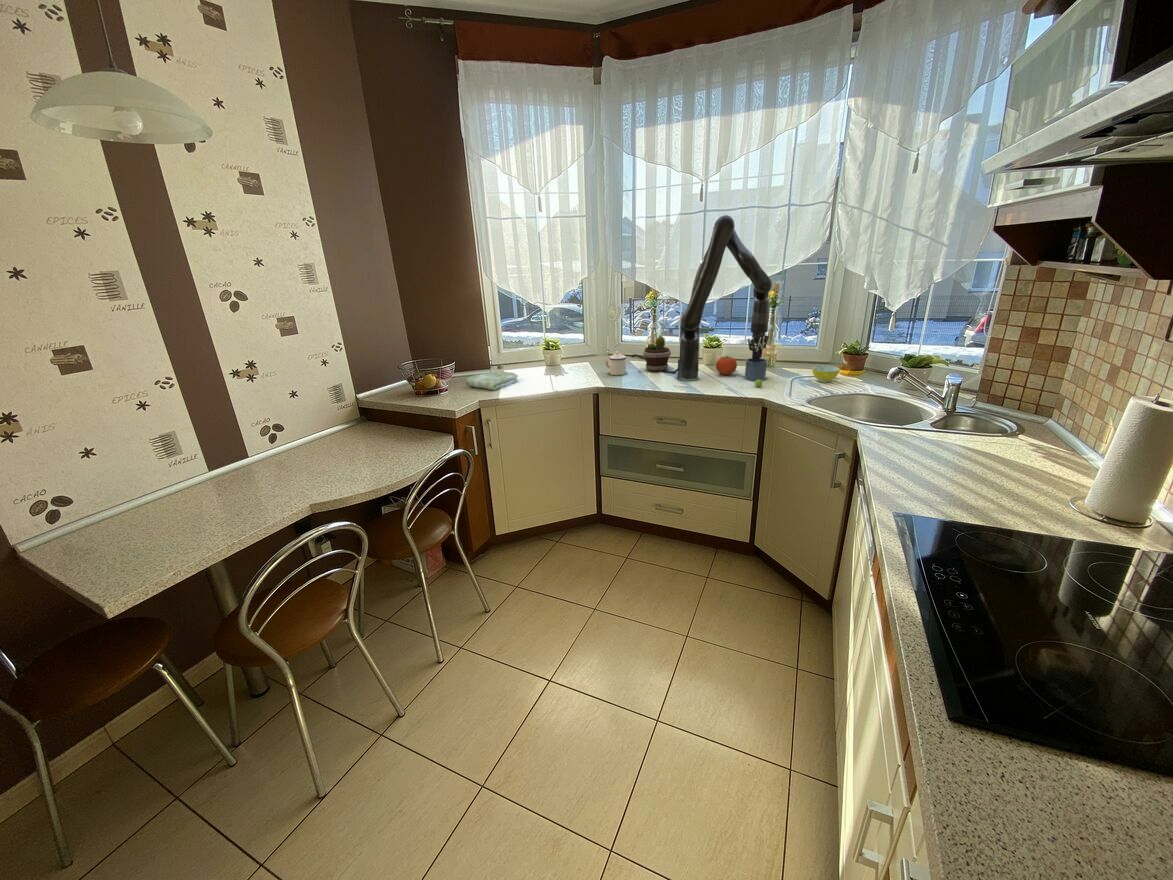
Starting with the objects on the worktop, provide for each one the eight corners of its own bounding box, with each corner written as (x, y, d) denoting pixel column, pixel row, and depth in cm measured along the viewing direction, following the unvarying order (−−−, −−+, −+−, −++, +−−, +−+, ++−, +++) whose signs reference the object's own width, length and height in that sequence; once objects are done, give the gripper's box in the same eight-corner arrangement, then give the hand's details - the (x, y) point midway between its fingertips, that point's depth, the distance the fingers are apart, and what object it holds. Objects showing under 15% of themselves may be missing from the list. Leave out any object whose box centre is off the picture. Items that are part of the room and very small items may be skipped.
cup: (740, 378, 233) (742, 360, 230) (752, 375, 238) (753, 357, 235) (757, 381, 226) (759, 363, 223) (769, 378, 231) (771, 359, 228)
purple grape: (751, 359, 229) (752, 352, 228) (755, 358, 231) (756, 351, 230) (757, 360, 227) (758, 353, 225) (762, 359, 228) (762, 351, 227)
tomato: (739, 373, 242) (741, 354, 239) (730, 377, 235) (732, 357, 231) (720, 371, 249) (721, 352, 245) (711, 375, 241) (712, 355, 238)
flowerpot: (638, 368, 262) (638, 332, 255) (663, 365, 266) (664, 329, 259) (649, 374, 249) (649, 336, 242) (675, 371, 253) (676, 333, 246)
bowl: (811, 383, 218) (813, 370, 216) (810, 377, 228) (811, 365, 226) (839, 385, 215) (841, 371, 212) (836, 378, 225) (838, 365, 222)
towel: (519, 381, 249) (519, 371, 247) (493, 391, 232) (491, 381, 230) (493, 378, 258) (492, 368, 256) (465, 388, 241) (464, 378, 239)
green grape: (752, 386, 218) (753, 379, 217) (757, 385, 220) (757, 378, 219) (759, 388, 216) (760, 380, 215) (763, 386, 218) (764, 379, 217)
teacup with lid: (629, 372, 255) (629, 350, 251) (620, 376, 248) (620, 354, 244) (610, 370, 262) (609, 349, 257) (601, 374, 255) (600, 352, 251)
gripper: (761, 319, 229) (758, 355, 235) (743, 323, 221) (741, 359, 228) (775, 320, 223) (772, 357, 230) (757, 324, 216) (754, 362, 222)
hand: (756, 358), depth 229 cm, fingers closed on purple grape, 3 cm apart
